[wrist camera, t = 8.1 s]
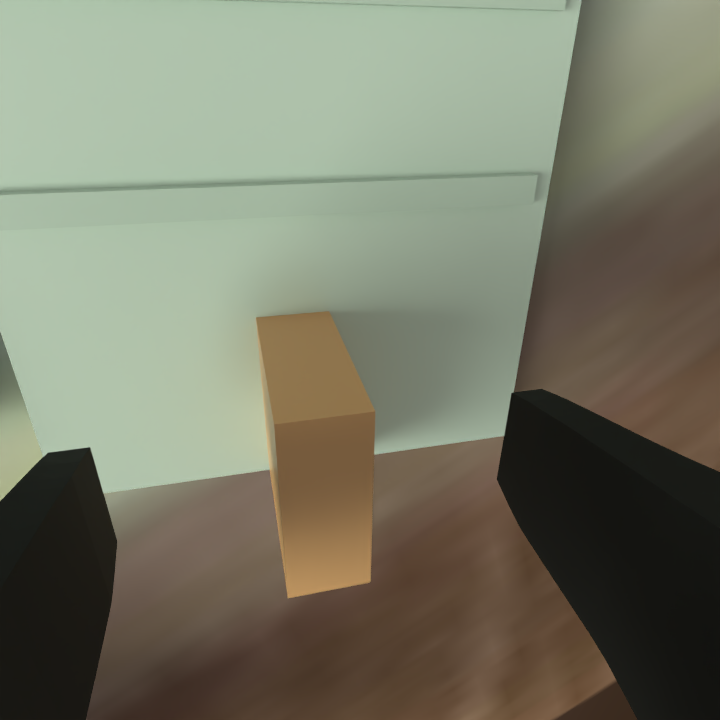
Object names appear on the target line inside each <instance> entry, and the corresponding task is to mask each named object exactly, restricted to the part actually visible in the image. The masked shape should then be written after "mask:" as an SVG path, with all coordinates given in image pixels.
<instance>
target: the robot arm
mask: <svg viewBox="0 0 720 720" xmlns="http://www.w3.org/2000/svg"><path fill="white" fill-rule="evenodd" d="M497 480H498V483H499V485H500V487H501V489H502V491H503V494H504V496H505V498H506V500H507V502H508V504H509V507H510V509H511V510H512V512H513V514H514V516H515V518H516V520H517V522H518V524H519V526H520V528H521V530H522V531H523V533H524V534H525V536H526V538H527V539H528V541H529V542H530V544H531V545H532V547H533V548H534V550H535V551H536V553H537V555H538V556H539V558H540V559H541V561H542V562H543V564H544V565H545V567H546V568H547V570H548V571H549V573H550V574H551V576H552V577H553V579H554V580H555V582H556V583H557V585H558V586H559V588H560V590H561V591H562V593H563V594H564V596H565V597H566V599H567V600H568V602H569V603H570V605H571V606H572V608H573V609H574V611H575V612H576V614H577V615H578V617H579V618H580V620H581V621H582V623H583V624H584V626H585V627H586V629H587V630H588V632H589V633H590V635H591V636H592V638H593V640H594V641H595V643H596V645H597V646H598V648H599V650H600V651H601V653H602V655H603V656H604V658H605V660H606V661H607V663H608V665H609V667H610V669H611V671H612V672H613V674H614V676H615V678H616V680H617V682H618V684H619V685H620V687H621V689H622V691H623V693H624V695H625V697H626V699H627V700H628V702H629V704H630V706H631V708H632V710H633V712H634V714H635V715H636V717H637V719H638V720H720V472H718V471H716V470H714V469H711V468H709V467H707V466H705V465H702V464H700V463H698V462H695V461H693V460H691V459H689V458H686V457H684V456H682V455H680V454H678V453H676V452H674V451H671V450H669V449H667V448H665V447H663V446H661V445H659V444H657V443H654V442H652V441H650V440H648V439H646V438H644V437H642V436H640V435H638V434H636V433H634V432H632V431H630V430H628V429H626V428H624V427H622V426H620V425H618V424H616V423H614V422H612V421H610V420H608V419H606V418H604V417H602V416H600V415H598V414H596V413H594V412H592V411H590V410H587V409H585V408H583V407H581V406H579V405H577V404H575V403H573V402H571V401H569V400H567V399H564V398H562V397H560V396H558V395H555V394H553V393H551V392H548V391H545V390H543V389H538V390H530V391H522V392H515V393H511V399H510V405H509V411H508V417H507V423H506V429H505V434H504V440H503V446H502V452H501V458H500V464H499V470H498V476H497ZM116 549H117V539H116V536H115V532H114V529H113V525H112V522H111V518H110V515H109V511H108V508H107V504H106V501H105V497H104V494H103V490H102V487H101V483H100V480H99V476H98V473H97V469H96V466H95V462H94V459H93V455H92V452H91V448H90V447H88V448H80V449H72V450H64V451H57V452H49V453H47V454H46V455H45V456H44V457H43V458H42V459H41V460H40V461H39V462H38V463H37V464H36V465H35V466H34V467H33V468H32V469H31V470H30V471H29V472H28V473H27V474H26V475H25V476H24V477H23V478H22V479H21V480H20V481H19V482H18V483H17V484H16V485H15V487H14V488H13V489H12V490H11V491H10V492H9V493H8V494H7V495H6V496H5V497H4V498H3V499H2V500H1V501H0V720H86V716H87V711H88V707H89V702H90V698H91V694H92V689H93V685H94V680H95V676H96V671H97V667H98V662H99V658H100V653H101V649H102V644H103V640H104V635H105V631H106V626H107V621H108V617H109V612H110V607H111V602H112V593H113V583H114V573H115V561H116Z"/></svg>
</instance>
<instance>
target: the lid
mask: <svg viewBox="0 0 720 720" xmlns="http://www.w3.org/2000/svg"><path fill="white" fill-rule="evenodd" d="M581 1H582V0H0V332H1V335H2V338H3V341H4V344H5V347H6V350H7V353H8V356H9V359H10V361H11V364H12V367H13V370H14V373H15V376H16V379H17V382H18V385H19V388H20V391H21V394H22V396H23V399H24V402H25V405H26V408H27V411H28V414H29V417H30V420H31V423H32V426H33V429H34V431H35V434H36V437H37V440H38V443H39V446H40V449H41V452H42V455H43V457H44V456H45V455H46V454H47V453H49V452H57V451H64V450H72V449H80V448H88V447H90V448H91V452H92V455H93V459H94V462H95V466H96V469H97V473H98V476H99V480H100V483H101V487H102V490H103V493H110V492H117V491H124V490H131V489H138V488H145V487H152V486H159V485H166V484H172V483H179V482H186V481H193V480H200V479H207V478H214V477H221V476H228V475H235V474H242V473H249V472H256V471H263V470H270V475H271V482H272V489H273V496H274V503H275V510H276V517H277V524H278V531H279V538H280V545H281V552H282V560H283V567H284V574H285V581H286V588H287V595H288V598H292V597H297V596H302V595H308V594H313V593H318V592H323V591H328V590H333V589H339V588H344V587H349V586H354V585H359V584H364V583H370V580H371V546H372V512H373V477H374V454H381V453H388V452H395V451H402V450H409V449H416V448H423V447H430V446H437V445H444V444H451V443H458V442H465V441H472V440H479V439H486V438H493V437H500V436H504V434H505V429H506V423H507V417H508V411H509V405H510V399H511V393H514V387H515V382H516V376H517V370H518V364H519V359H520V353H521V347H522V341H523V336H524V330H525V324H526V318H527V312H528V307H529V301H530V295H531V289H532V284H533V278H534V272H535V266H536V261H537V255H538V249H539V243H540V237H541V232H542V226H543V220H544V214H545V209H546V203H547V197H548V191H549V186H550V180H551V174H552V168H553V162H554V157H555V151H556V145H557V139H558V134H559V128H560V122H561V116H562V111H563V105H564V99H565V93H566V87H567V82H568V76H569V70H570V64H571V59H572V53H573V47H574V41H575V36H576V30H577V24H578V18H579V12H580V7H581Z"/></svg>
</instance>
